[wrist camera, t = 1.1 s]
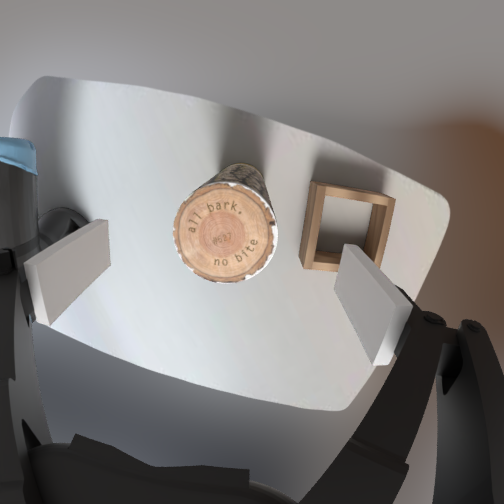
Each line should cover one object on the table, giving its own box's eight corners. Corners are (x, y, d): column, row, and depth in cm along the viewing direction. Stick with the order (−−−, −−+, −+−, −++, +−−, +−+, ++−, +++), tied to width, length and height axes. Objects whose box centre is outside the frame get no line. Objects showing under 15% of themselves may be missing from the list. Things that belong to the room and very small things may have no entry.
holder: (298, 256, 46) (303, 268, 41) (310, 180, 42) (317, 185, 37) (366, 263, 46) (377, 275, 41) (381, 193, 42) (395, 199, 37)
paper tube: (211, 170, 41) (157, 201, 18) (256, 156, 40) (260, 168, 17) (226, 213, 43) (194, 294, 20) (269, 200, 43) (289, 268, 19)
